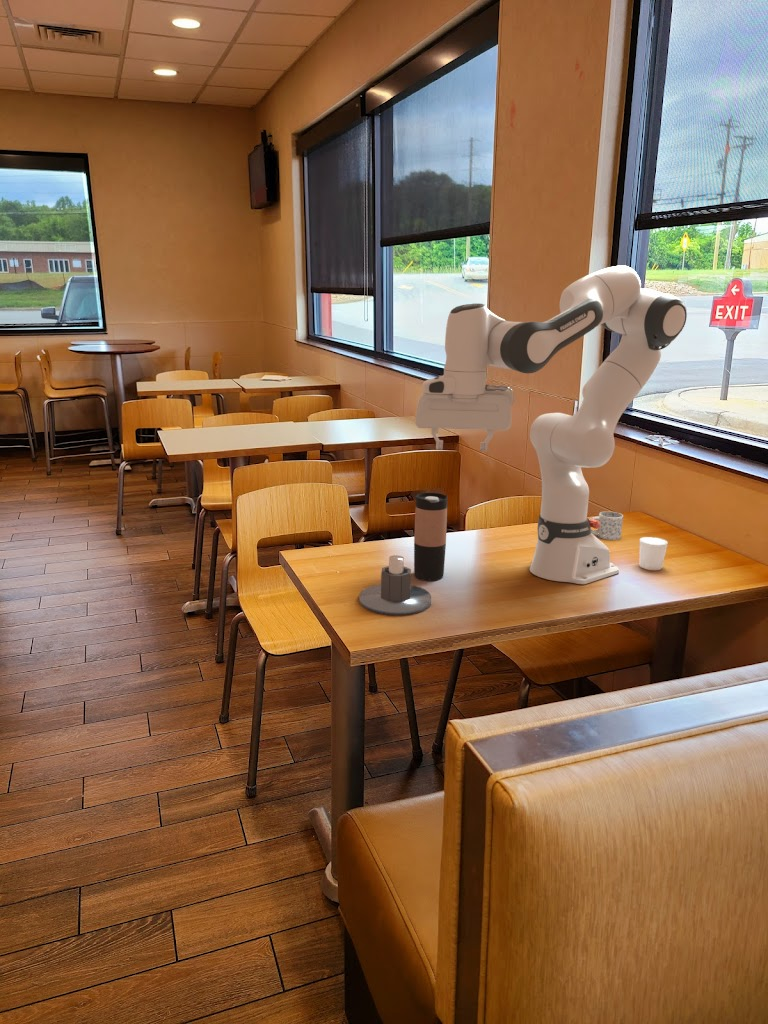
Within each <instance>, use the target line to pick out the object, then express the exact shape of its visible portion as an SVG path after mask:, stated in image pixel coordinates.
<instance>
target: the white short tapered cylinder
mask: <svg viewBox="0 0 768 1024" xmlns="http://www.w3.org/2000/svg"><path fill="white" fill-rule="evenodd" d="M668 544H669V543H668V541H667V540H666V539H664V538H661V537H655V536H652V537H651V536H643V537H640V538H639V554H638V555H639V557H638V558H639V561H638V563H639V564H638V566H639V567H640V568H642V569H644V570H648V571H660V570H662V569H663V565H664V561H665V557H666V552H667V548H668Z"/></svg>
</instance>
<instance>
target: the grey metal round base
mask: <svg viewBox="0 0 768 1024" xmlns="http://www.w3.org/2000/svg"><path fill="white" fill-rule="evenodd" d="M404 561H405V559H404V556H402V555H397V554H396V555H395V554H394V555H390V556H389V558H388V566H389V574H395V575H401V574H403V566H404ZM358 601H359V604H360V606H361V607H362V608H363V609H365V610H366V611H367V610H368V611H369V612H372V613H375V614H380V615H386V616H409V615H410V616H411V615H415V614H419V613H422V612H424V611H426V610H428V609H429V608H430V607H431V605H432V595H431V593H430V592H429V591H428V590H426V589H424V588H422V587H420V586H416V585H413V584H410V599H408V600H405V601H402V602H394V601H387V600H385V599H383V598H381V583H378V584H373V585H371V586H368V587H366V588H364V589H362V590H361V591H360V593H359V600H358Z"/></svg>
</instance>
